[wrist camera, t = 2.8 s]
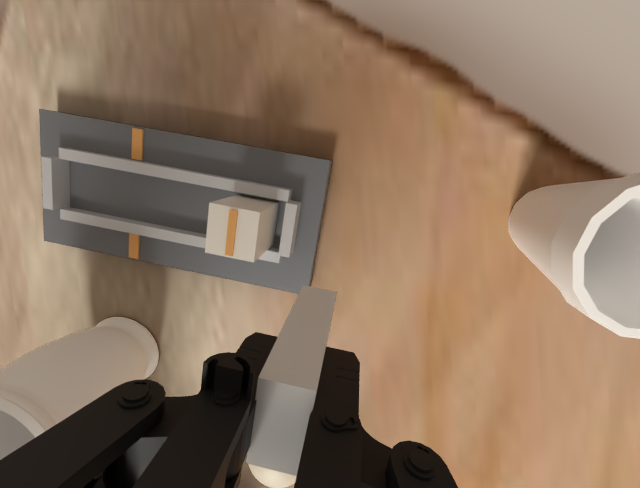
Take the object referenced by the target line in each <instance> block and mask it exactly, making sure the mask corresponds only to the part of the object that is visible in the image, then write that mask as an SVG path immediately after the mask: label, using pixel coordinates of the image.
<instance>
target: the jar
mask: <svg viewBox="0 0 640 488" xmlns="http://www.w3.org/2000/svg"><path fill="white" fill-rule="evenodd" d="M158 360H159V351H158V347H157V343H156V341H155V339H154V337H153V336H152V335H151V333H150V332H149V331H148V330H147V329H146V328H145V327H144V326H143V325H141V324H140V323H138V322H136V321H134V320H132V319H129V318H125V317H111V318H107V319H105V320H102V321H101V322H99V323H98V324H97V325H96V326H95V327H94V328H89V329H85V330H81V331H78V332H75V333H73V334H70V335H68V336H66V337H63V338H60V339H58V340H55V341H52V342H50V343H47V344H45V345H43V346H41V347H39V348H36V349H34V350H32V351H31V352H29V353H27V354H25V355H23V356H22V357H20V358H18V359H17V360H15V361H13V362H12V363H10V364H9V365H7V366H6V367H5V368H3V369H2V370H0V460H1V459H2V458H4V457H6V456H7V455H9V454H10V453H12V452H13V451H15V450H17V449H18V448H20V447H21V446H23V445H25V444H26V443H28V442H29V441H31V440H32V439H34V438H36V437H37V436H39V435H40V434H42V433H43V432H45V431H47V430H48V429H50V428H51V427H53V426H54V425H56V424H58V423H59V422H61V421H62V420H64V419H66V418H67V417H69V416H70V415H72V414H73V413H75V412H77V411H78V410H80V409H81V408H83V407H84V406H86V405H88V404H89V403H91V402H92V401H94V400H96V399H97V398H99V397H100V396H102V395H103V394H105V393H107V392H108V391H110V390H111V389H113V388H114V387H116V386H119V385H121V384H123V383H125V382H129V381H133V380H144V379H146V378H147V377H149V376H150V375H151V374H152V373H153V372H154V370H155V369H156V367H157V364H158Z"/></svg>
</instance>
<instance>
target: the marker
mask: <svg viewBox="0 0 640 488" xmlns="http://www.w3.org/2000/svg"><path fill="white" fill-rule="evenodd" d="M143 139H144V130H142V129H137V128H132V155H131V159H135V160H141V161H143ZM139 247H140V235H137V234H132V233H129V257H130V258H134V259H139Z"/></svg>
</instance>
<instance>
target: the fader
mask: <svg viewBox="0 0 640 488" xmlns="http://www.w3.org/2000/svg"><path fill="white" fill-rule="evenodd" d="M278 206H279V203H277V202H272V201H267V200H262V199H256V198H251V197H246V196H240V195H235V196H231V197H228V198H224V199H220V200H217V201H213V202H210V203H209V211H208V222H207V233H206V245H205V253H210V254H214V255H219V256H224V257H229V258H234V259H239V260H244V261H249V262H255V261H256V260H257V259H258V258H259V257H260V256H261V255H262V254H263V253H264V252H266V251H267V250H268V249H269V248H270V247H271V246H272V245H273V242H274V235H275V228H276V221H277V214H278Z"/></svg>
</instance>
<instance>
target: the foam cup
mask: <svg viewBox="0 0 640 488" xmlns="http://www.w3.org/2000/svg"><path fill="white" fill-rule="evenodd" d="M508 224H509V234H510V236H511V238H512V239H513V241H514V243H515V244H516V246H517V247H518V248H519V249H520V250H521V251H522V252H523V253H524V254H525V255H526V256H527V257H528V258H529V259H530V260H531V261H532V262H533V263H534V264H535V265H536V266H537V267H538V269H539V270H540V271H541V272H542V273H543V274H544V275H545V276H546V277H547V278H548V279H549V280H550V281H551V282H552V283H553V284H554V285H555V286H556V287H557V288H558V289H559V290H560V291H561V293H562V295H563V297H564V298H565V300H566V302H568V303H569V304H570V305H572V306H573V307H575V308H576V309H578V310H579V311H580V312H582V313H583V314H585V315H586V316H588V317H589V318H591V319H592V320H594V321H596V322H597V323H599V324H601V325H602V326H604V327H606V328H607V329H609V330H611V331H612V332H614V333H616V334H617V335H619V336H622V337H630V338H639V339H640V173H635V174H632V175H629V176H626V177H623V178H615V179H606V180H597V181H587V182H578V183H569V184H560V185H550V186H544V187H541V188H538V189H535V190H532V191H529V192H527V193H526V194H525V195H524V196H523V197H522V198H521V199H519V200H518V201H517V202H516V203H515V205H514V207H513V209H512V211H511V213H510V215H509V218H508Z"/></svg>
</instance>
